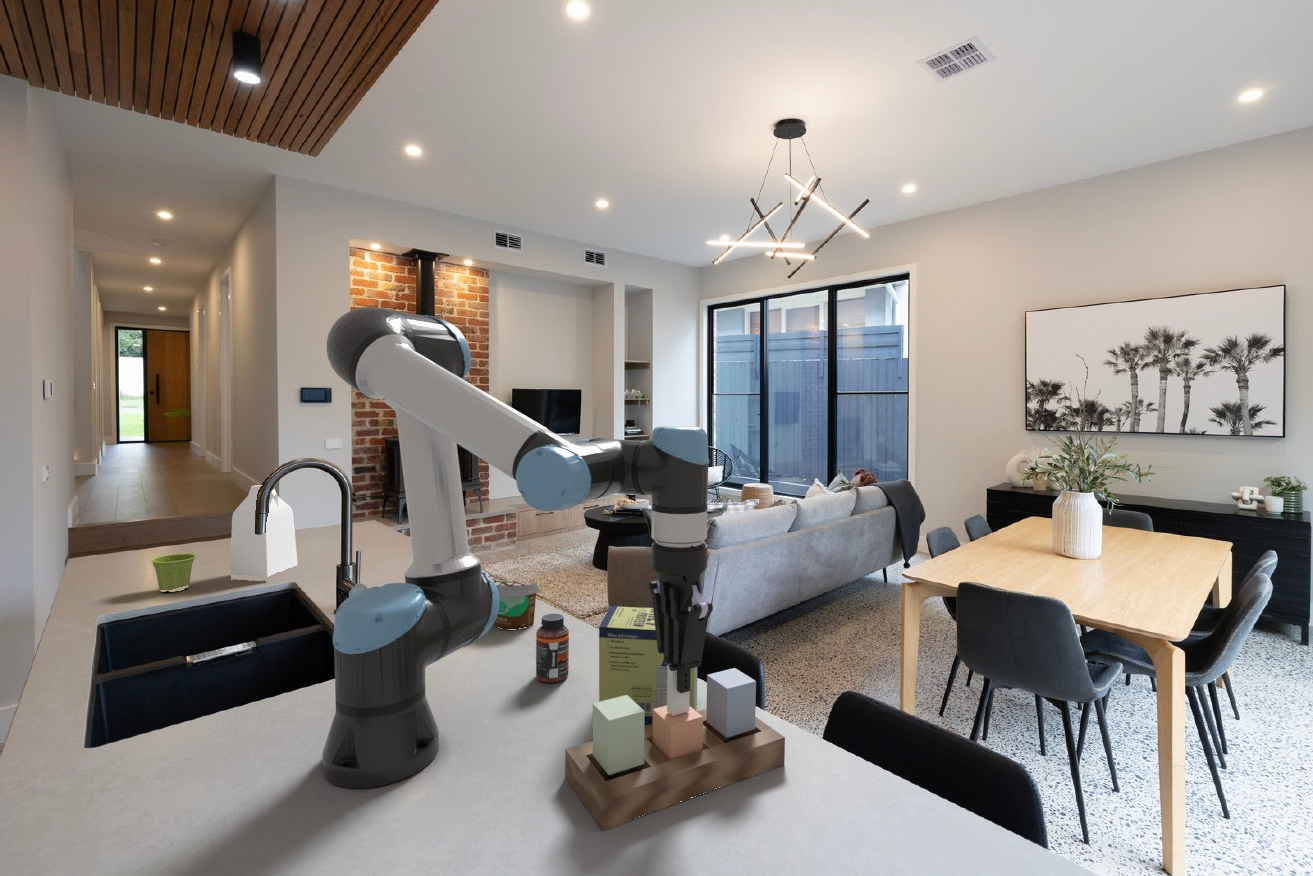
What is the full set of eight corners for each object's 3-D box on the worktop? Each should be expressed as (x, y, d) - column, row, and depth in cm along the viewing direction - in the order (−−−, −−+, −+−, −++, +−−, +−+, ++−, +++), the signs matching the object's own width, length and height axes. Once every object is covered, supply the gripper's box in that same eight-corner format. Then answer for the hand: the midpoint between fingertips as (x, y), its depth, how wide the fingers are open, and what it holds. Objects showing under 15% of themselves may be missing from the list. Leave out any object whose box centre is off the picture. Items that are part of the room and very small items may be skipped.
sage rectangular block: (608, 775, 77) (609, 720, 77) (592, 755, 82) (592, 703, 81) (644, 764, 80) (644, 711, 79) (626, 745, 84) (627, 695, 84)
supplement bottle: (562, 685, 111) (562, 623, 110) (530, 682, 112) (530, 621, 111) (573, 671, 117) (573, 612, 116) (543, 668, 118) (543, 610, 117)
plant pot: (189, 582, 171) (188, 551, 170) (202, 589, 165) (201, 556, 165) (146, 591, 163) (145, 558, 163) (159, 597, 158) (157, 564, 157)
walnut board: (601, 831, 73) (602, 798, 73) (565, 777, 84) (565, 748, 83) (784, 765, 87) (784, 737, 87) (733, 725, 97) (733, 701, 97)
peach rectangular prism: (670, 777, 82) (671, 725, 81) (652, 758, 86) (652, 709, 86) (702, 766, 84) (702, 716, 84) (682, 748, 89) (683, 701, 88)
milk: (229, 580, 174) (227, 488, 172) (262, 569, 185) (259, 482, 184) (267, 582, 172) (265, 489, 170) (298, 571, 183) (296, 483, 182)
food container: (476, 627, 139) (476, 583, 138) (493, 618, 145) (493, 576, 144) (523, 635, 134) (523, 590, 134) (539, 626, 140) (538, 582, 139)
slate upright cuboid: (726, 738, 86) (727, 688, 86) (706, 721, 90) (707, 674, 90) (755, 729, 89) (756, 681, 88) (734, 713, 93) (734, 667, 93)
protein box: (608, 692, 109) (609, 605, 108) (697, 697, 107) (698, 608, 106) (596, 722, 98) (597, 626, 97) (695, 728, 97) (696, 631, 96)
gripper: (730, 547, 80) (728, 726, 81) (678, 529, 91) (676, 686, 92) (681, 554, 76) (679, 741, 77) (632, 534, 87) (632, 697, 89)
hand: (678, 711), depth 85 cm, fingers closed
